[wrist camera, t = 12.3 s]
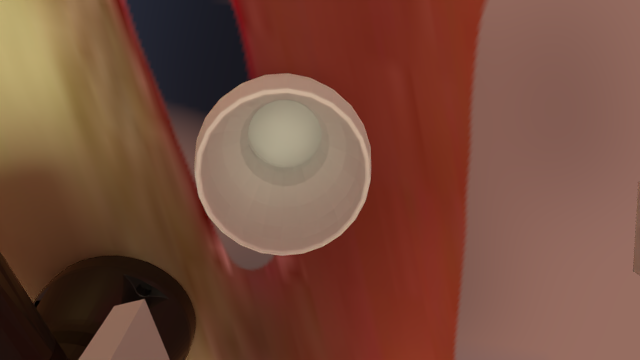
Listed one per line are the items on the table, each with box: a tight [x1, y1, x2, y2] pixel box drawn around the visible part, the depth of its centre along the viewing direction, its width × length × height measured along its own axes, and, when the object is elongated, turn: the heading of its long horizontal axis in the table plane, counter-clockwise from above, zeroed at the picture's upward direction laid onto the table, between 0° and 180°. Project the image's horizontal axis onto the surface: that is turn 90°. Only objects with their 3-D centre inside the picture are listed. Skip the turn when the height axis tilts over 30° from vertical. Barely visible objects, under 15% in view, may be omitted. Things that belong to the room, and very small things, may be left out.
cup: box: [194, 73, 371, 256], centre depth 28 cm, size 11×11×15 cm
